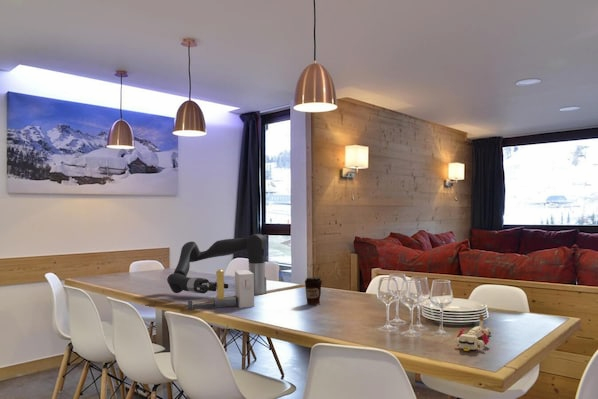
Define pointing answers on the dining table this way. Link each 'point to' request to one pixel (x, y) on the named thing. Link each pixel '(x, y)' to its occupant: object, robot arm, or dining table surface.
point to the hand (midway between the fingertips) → (221, 287)
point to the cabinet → (244, 288)
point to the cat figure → (473, 337)
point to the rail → (202, 305)
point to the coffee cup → (313, 290)
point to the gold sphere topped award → (222, 292)
